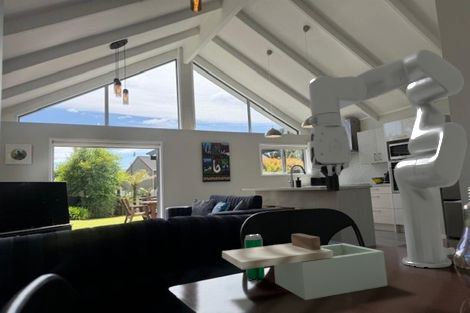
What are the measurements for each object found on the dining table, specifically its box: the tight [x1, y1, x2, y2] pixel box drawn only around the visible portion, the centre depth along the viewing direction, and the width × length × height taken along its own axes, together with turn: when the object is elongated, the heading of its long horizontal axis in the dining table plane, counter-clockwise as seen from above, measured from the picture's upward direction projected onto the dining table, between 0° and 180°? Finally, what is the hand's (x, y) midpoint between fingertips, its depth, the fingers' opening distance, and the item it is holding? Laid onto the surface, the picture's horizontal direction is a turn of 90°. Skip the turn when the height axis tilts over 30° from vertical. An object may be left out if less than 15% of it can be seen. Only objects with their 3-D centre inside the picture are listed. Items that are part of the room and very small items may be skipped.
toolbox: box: [273, 242, 388, 301], centre depth 84 cm, size 22×16×8 cm
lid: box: [221, 233, 333, 271], centre depth 80 cm, size 22×16×4 cm
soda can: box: [244, 233, 266, 281], centre depth 94 cm, size 5×5×12 cm
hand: (333, 191), depth 87 cm, fingers closed
